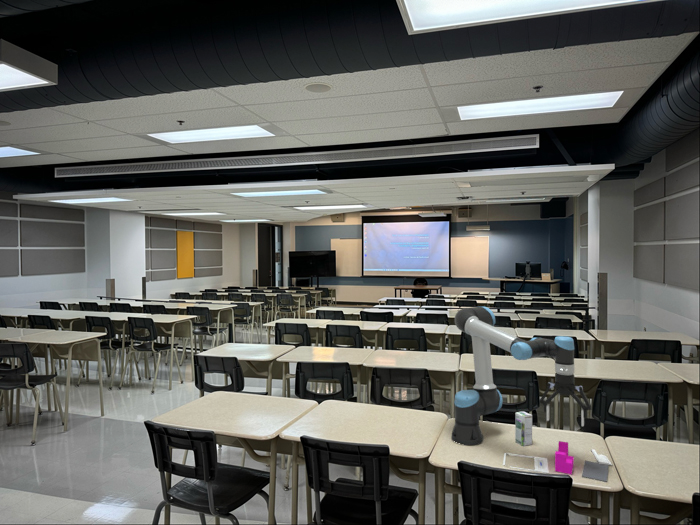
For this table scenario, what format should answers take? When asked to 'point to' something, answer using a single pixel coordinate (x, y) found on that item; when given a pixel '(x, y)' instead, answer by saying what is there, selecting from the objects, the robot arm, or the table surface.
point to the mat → (595, 471)
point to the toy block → (563, 459)
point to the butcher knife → (601, 458)
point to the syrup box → (523, 428)
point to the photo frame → (540, 463)
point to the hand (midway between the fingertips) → (565, 422)
